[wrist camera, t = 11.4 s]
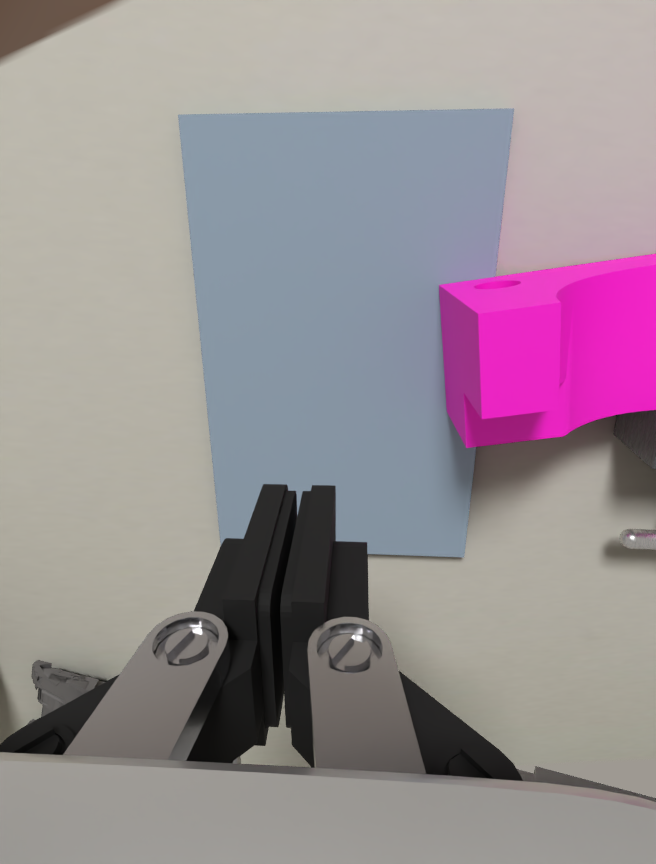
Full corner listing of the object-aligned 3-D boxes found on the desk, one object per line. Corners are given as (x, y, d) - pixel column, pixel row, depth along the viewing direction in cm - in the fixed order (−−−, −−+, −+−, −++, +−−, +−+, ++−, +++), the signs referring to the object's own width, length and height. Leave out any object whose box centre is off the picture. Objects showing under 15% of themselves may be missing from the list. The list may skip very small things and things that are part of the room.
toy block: (446, 411, 27) (484, 480, 20) (438, 284, 24) (478, 313, 17) (758, 372, 26) (914, 431, 19) (782, 235, 23) (970, 245, 16)
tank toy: (28, 733, 40) (-18, 803, 35) (36, 641, 36) (-14, 707, 32) (182, 773, 41) (158, 848, 36) (206, 687, 37) (182, 758, 32)
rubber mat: (510, 111, 22) (513, 108, 22) (462, 551, 31) (464, 557, 30) (182, 117, 23) (178, 114, 23) (223, 542, 32) (221, 548, 31)
